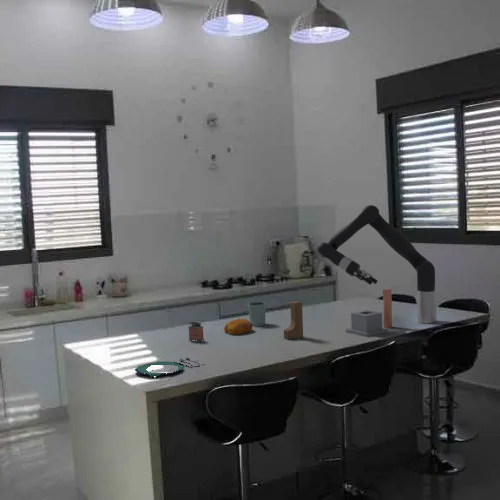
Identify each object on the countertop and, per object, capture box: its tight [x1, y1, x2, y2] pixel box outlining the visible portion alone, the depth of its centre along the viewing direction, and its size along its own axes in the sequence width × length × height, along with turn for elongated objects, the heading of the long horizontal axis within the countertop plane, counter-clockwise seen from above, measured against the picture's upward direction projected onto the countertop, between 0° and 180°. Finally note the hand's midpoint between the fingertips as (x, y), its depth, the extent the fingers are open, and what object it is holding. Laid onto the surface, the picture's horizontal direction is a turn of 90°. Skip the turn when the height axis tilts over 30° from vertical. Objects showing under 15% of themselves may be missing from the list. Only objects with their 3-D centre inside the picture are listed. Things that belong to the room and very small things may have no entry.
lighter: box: [187, 320, 205, 342], centre depth 323 cm, size 8×3×10 cm, turn 71°
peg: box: [382, 288, 393, 329], centre depth 335 cm, size 4×4×20 cm
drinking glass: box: [247, 301, 267, 327], centre depth 357 cm, size 10×10×12 cm
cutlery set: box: [134, 356, 199, 378], centre depth 273 cm, size 20×30×2 cm, turn 130°
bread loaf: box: [223, 318, 254, 336], centre depth 341 cm, size 14×16×8 cm
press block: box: [345, 309, 389, 338], centre depth 326 cm, size 15×15×10 cm
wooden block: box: [283, 300, 304, 340], centre depth 320 cm, size 9×4×18 cm, turn 118°
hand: (374, 282), depth 334 cm, fingers open, 8 cm apart
